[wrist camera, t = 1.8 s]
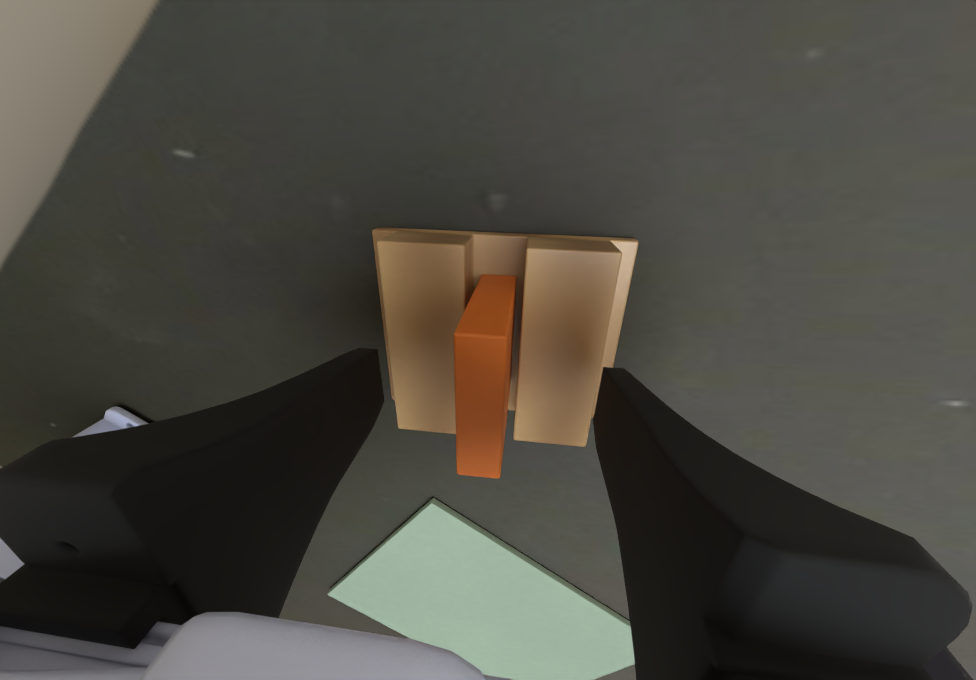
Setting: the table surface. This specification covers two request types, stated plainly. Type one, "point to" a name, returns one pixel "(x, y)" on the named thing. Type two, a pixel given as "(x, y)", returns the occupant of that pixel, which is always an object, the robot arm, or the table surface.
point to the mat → (485, 602)
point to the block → (484, 375)
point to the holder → (537, 324)
